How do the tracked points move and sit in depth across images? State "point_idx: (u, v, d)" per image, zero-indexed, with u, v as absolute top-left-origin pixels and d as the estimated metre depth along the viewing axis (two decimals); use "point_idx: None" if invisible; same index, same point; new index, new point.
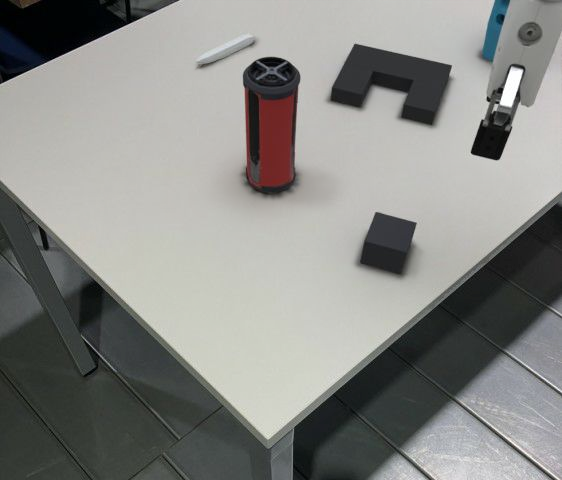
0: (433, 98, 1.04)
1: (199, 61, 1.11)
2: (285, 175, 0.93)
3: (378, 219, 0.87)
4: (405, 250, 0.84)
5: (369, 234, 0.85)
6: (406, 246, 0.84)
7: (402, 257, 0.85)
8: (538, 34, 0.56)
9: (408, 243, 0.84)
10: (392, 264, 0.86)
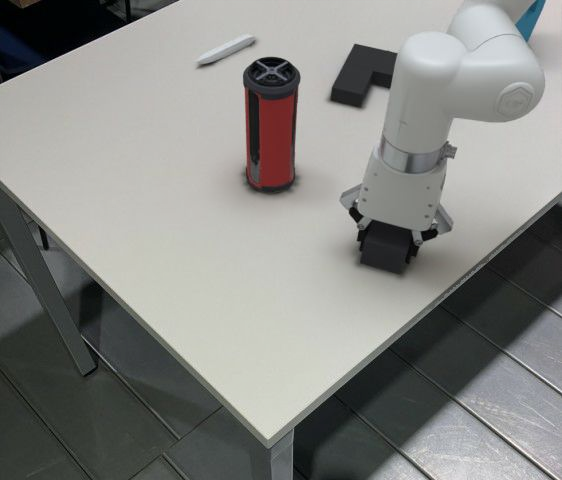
0: None
1: (199, 61, 1.11)
2: (285, 175, 0.93)
3: None
4: (405, 250, 0.84)
5: (369, 234, 0.85)
6: (406, 246, 0.84)
7: (402, 257, 0.85)
8: None
9: (408, 243, 0.84)
10: (392, 264, 0.86)
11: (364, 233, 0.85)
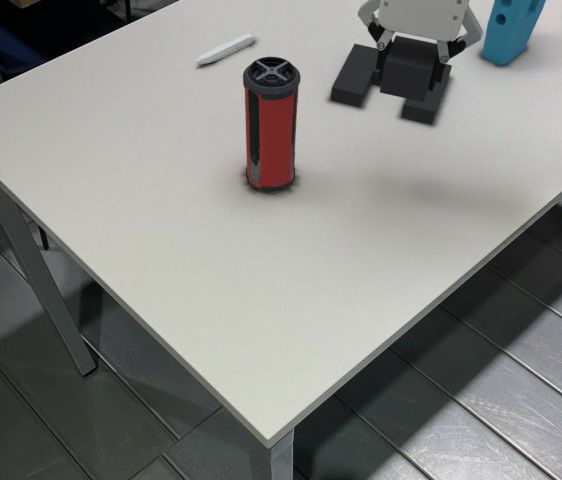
0: (433, 98, 1.04)
1: (199, 61, 1.10)
2: (285, 175, 0.93)
3: (399, 41, 0.80)
4: (430, 68, 0.77)
5: (389, 54, 0.79)
6: (431, 65, 0.78)
7: (426, 78, 0.78)
8: None
9: (433, 62, 0.78)
10: (415, 89, 0.80)
11: (384, 54, 0.79)
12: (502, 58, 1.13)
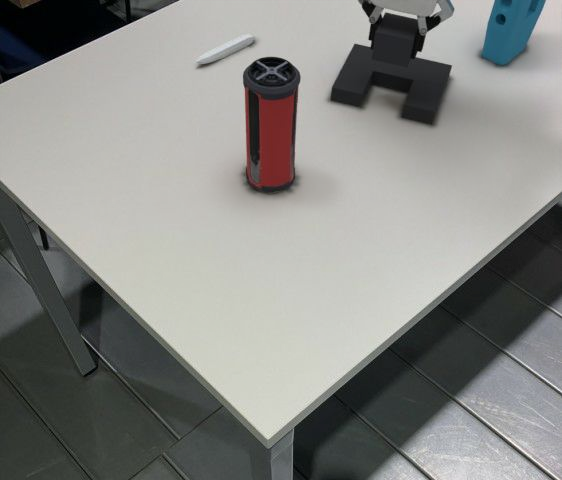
0: (433, 98, 1.04)
1: (199, 61, 1.11)
2: (285, 175, 0.93)
3: (387, 17, 0.98)
4: (411, 39, 0.95)
5: (379, 27, 0.96)
6: (412, 36, 0.96)
7: (408, 47, 0.96)
8: None
9: (414, 34, 0.96)
10: (400, 56, 0.98)
11: (375, 27, 0.97)
12: (502, 58, 1.13)
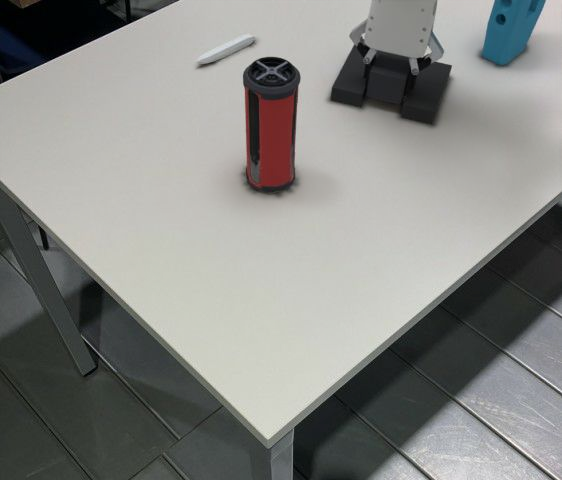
0: (433, 98, 1.04)
1: (199, 61, 1.11)
2: (285, 175, 0.93)
3: (381, 57, 1.04)
4: (404, 78, 1.01)
5: (373, 67, 1.02)
6: (405, 75, 1.01)
7: (401, 85, 1.02)
8: None
9: (406, 73, 1.01)
10: (393, 93, 1.03)
11: (370, 66, 1.02)
12: (502, 58, 1.13)
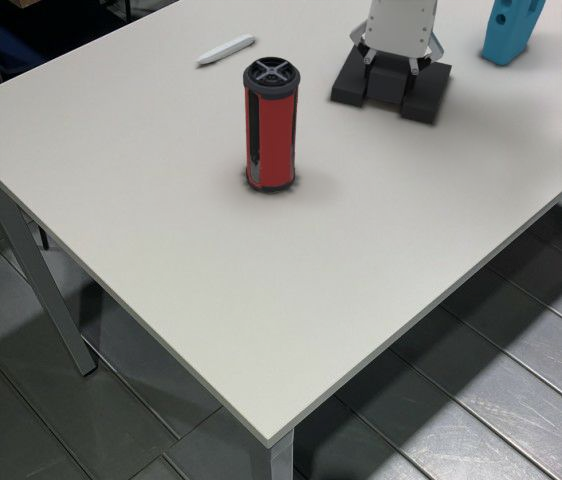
0: (433, 98, 1.04)
1: (199, 61, 1.10)
2: (285, 175, 0.93)
3: (381, 57, 1.04)
4: (404, 78, 1.01)
5: (374, 67, 1.02)
6: (405, 75, 1.01)
7: (401, 86, 1.02)
8: None
9: (406, 73, 1.01)
10: (393, 94, 1.03)
11: (370, 66, 1.02)
12: (502, 58, 1.13)
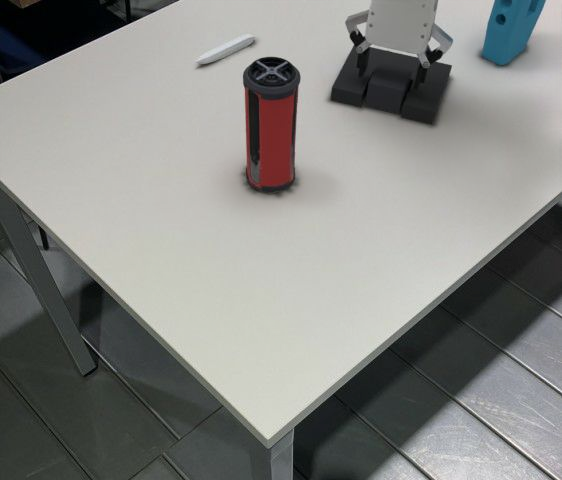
0: (433, 98, 1.04)
1: (199, 61, 1.11)
2: (285, 175, 0.93)
3: (380, 68, 1.05)
4: (402, 89, 1.02)
5: (372, 78, 1.04)
6: (403, 86, 1.03)
7: (399, 96, 1.03)
8: None
9: (404, 84, 1.03)
10: (391, 104, 1.05)
11: (362, 56, 1.01)
12: (502, 58, 1.13)
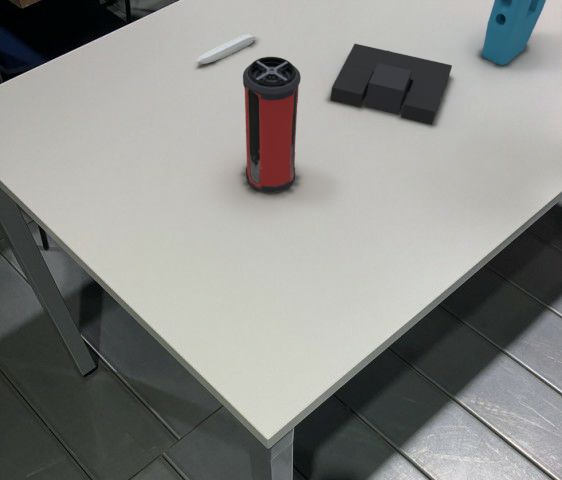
0: (433, 98, 1.04)
1: (199, 61, 1.11)
2: (285, 175, 0.93)
3: (380, 68, 1.05)
4: (402, 89, 1.02)
5: (372, 78, 1.04)
6: (403, 86, 1.03)
7: (399, 96, 1.03)
8: None
9: (404, 84, 1.03)
10: (391, 104, 1.05)
11: None
12: (502, 58, 1.13)
